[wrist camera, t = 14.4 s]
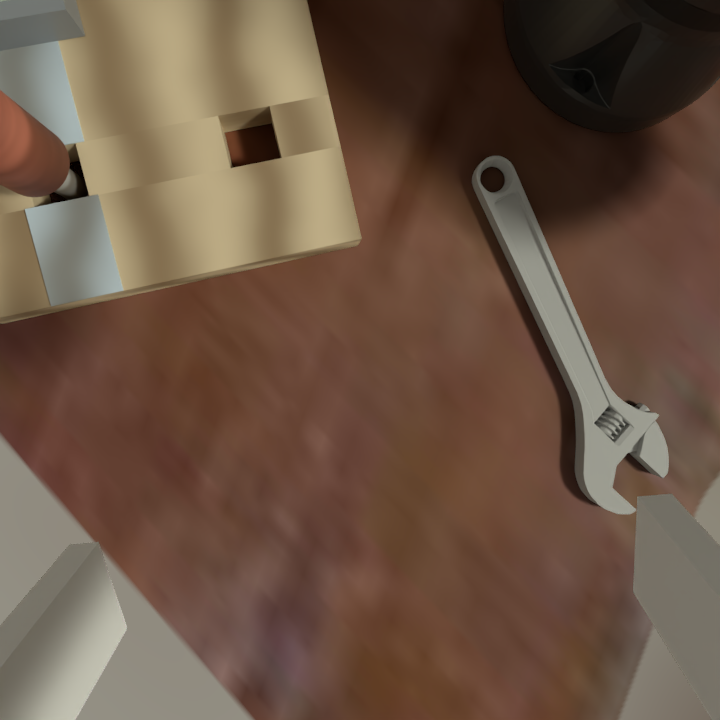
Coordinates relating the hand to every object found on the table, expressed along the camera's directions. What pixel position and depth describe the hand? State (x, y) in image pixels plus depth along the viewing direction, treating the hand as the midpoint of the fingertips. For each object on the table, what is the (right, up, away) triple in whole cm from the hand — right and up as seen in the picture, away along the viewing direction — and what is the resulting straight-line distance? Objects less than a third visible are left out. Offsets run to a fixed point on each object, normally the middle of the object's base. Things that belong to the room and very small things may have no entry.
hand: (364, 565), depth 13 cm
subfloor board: (-13, +20, +19) cm, 30 cm away
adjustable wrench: (+14, +7, +23) cm, 28 cm away
